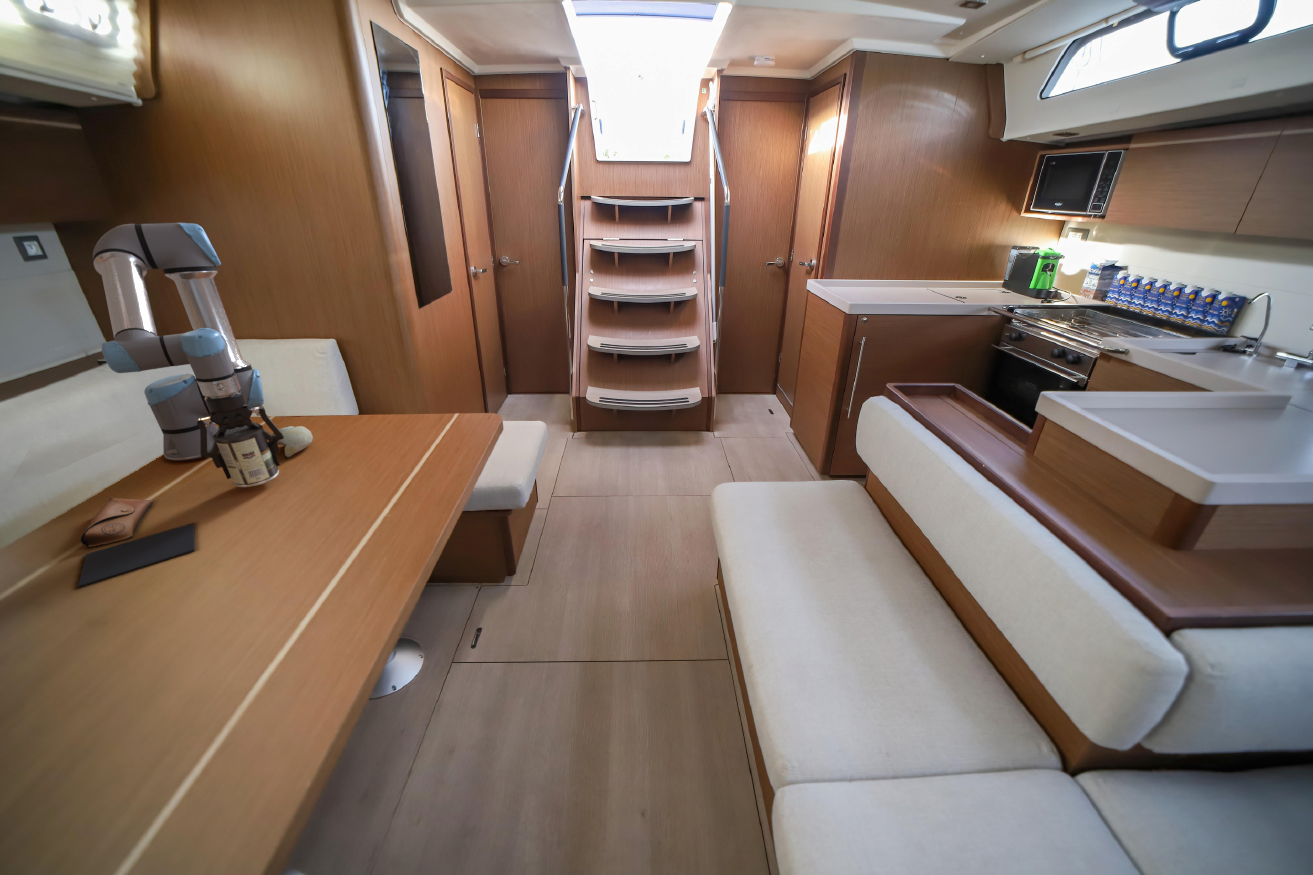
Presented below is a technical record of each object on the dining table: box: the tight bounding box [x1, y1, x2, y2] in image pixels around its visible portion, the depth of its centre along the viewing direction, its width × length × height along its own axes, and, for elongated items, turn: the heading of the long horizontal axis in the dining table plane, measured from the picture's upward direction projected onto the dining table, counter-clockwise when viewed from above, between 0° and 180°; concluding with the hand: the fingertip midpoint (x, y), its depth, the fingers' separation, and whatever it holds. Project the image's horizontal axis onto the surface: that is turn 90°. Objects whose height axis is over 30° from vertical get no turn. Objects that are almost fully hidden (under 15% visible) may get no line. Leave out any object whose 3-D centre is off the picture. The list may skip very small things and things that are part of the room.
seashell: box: [272, 425, 314, 458], centre depth 154 cm, size 13×8×10 cm
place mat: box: [77, 522, 196, 588], centre depth 110 cm, size 13×18×1 cm
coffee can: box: [213, 422, 280, 488], centre depth 132 cm, size 10×10×14 cm
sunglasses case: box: [80, 496, 154, 548], centre depth 120 cm, size 18×7×7 cm
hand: (253, 470), depth 134 cm, fingers closed on coffee can, 10 cm apart
